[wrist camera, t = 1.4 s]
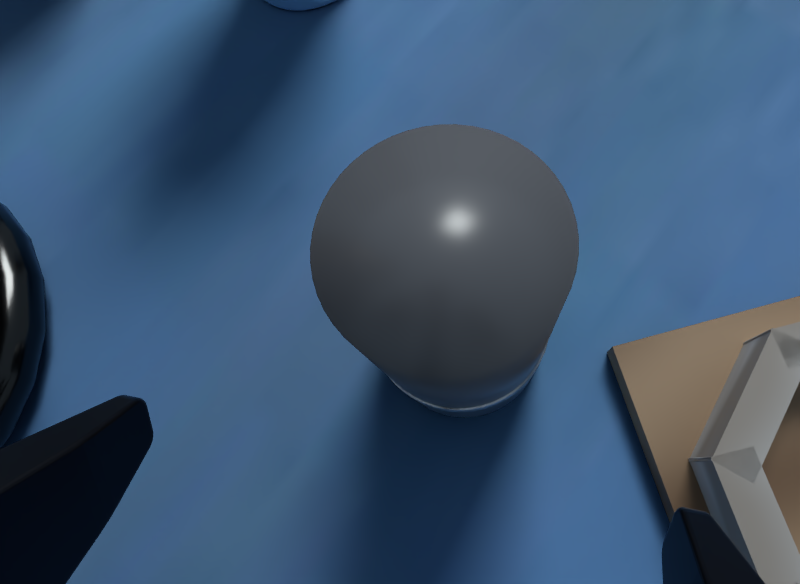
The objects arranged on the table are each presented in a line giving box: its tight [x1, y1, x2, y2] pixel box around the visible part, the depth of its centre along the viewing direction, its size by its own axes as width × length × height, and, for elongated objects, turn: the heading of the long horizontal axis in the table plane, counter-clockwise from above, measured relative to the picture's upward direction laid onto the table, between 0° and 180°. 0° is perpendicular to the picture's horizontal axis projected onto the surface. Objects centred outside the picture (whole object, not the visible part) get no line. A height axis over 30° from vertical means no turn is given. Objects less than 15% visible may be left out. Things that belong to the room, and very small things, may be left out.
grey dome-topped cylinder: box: [310, 124, 579, 418], centre depth 17 cm, size 6×6×10 cm
